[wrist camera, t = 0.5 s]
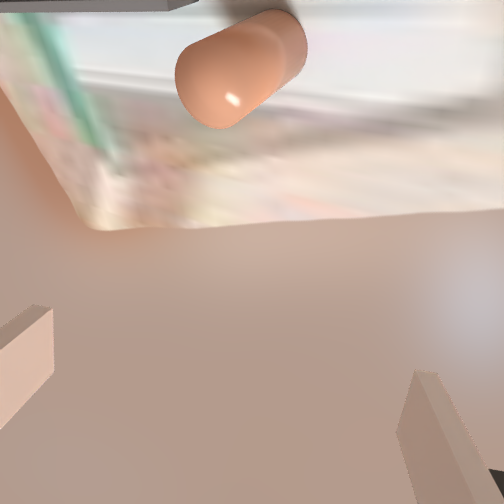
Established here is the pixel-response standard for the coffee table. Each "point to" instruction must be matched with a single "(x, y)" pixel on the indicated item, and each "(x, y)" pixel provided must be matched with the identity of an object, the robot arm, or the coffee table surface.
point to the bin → (91, 5)
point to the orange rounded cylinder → (240, 67)
